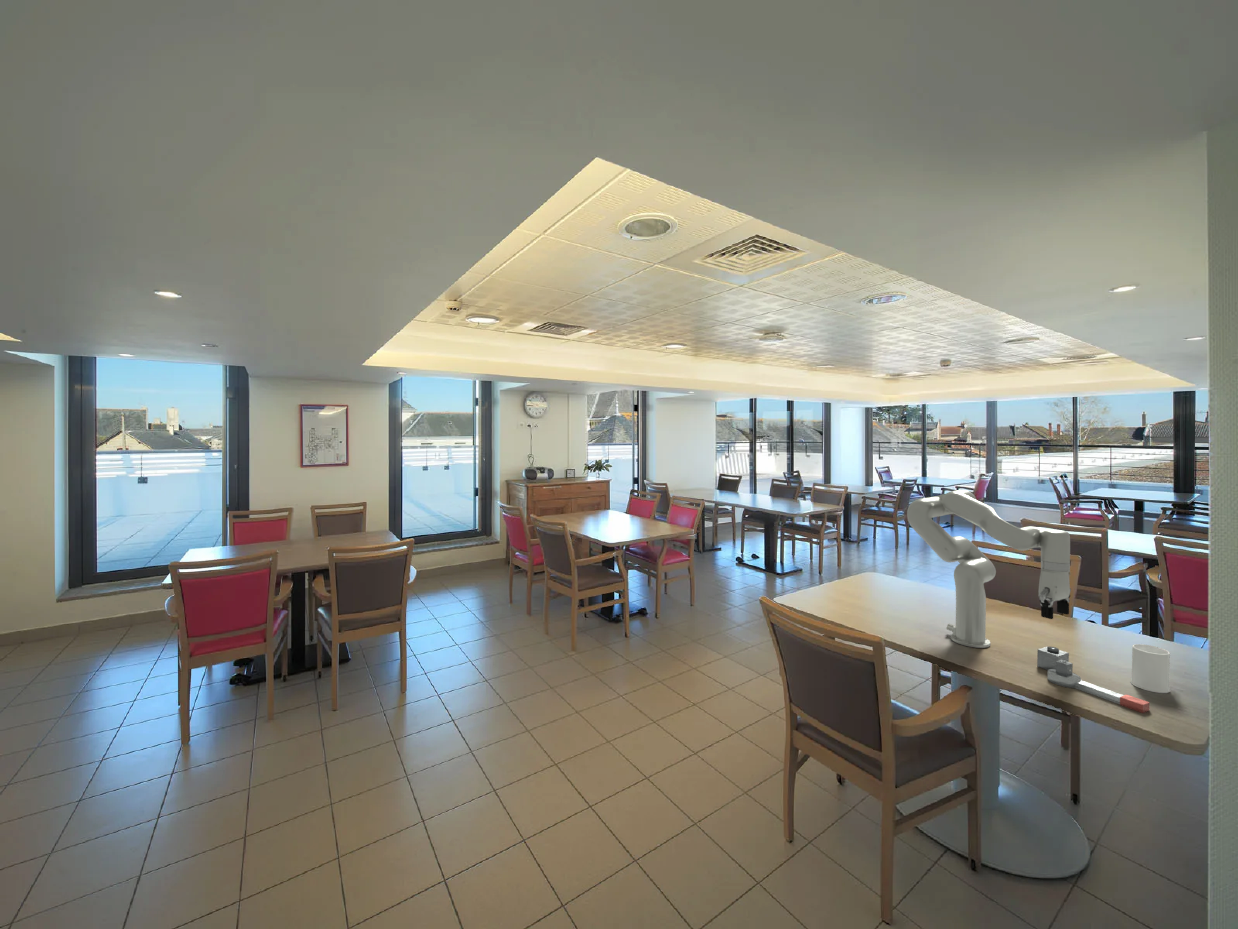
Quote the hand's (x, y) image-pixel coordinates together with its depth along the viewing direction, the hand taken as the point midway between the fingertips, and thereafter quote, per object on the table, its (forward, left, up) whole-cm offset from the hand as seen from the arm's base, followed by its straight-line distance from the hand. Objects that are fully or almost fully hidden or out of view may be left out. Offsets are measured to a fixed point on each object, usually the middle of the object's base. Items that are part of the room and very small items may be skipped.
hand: (1055, 615), depth 171 cm
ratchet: (+16, -11, -18) cm, 26 cm away
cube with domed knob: (+1, -3, -18) cm, 18 cm away
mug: (+21, +11, -18) cm, 30 cm away
